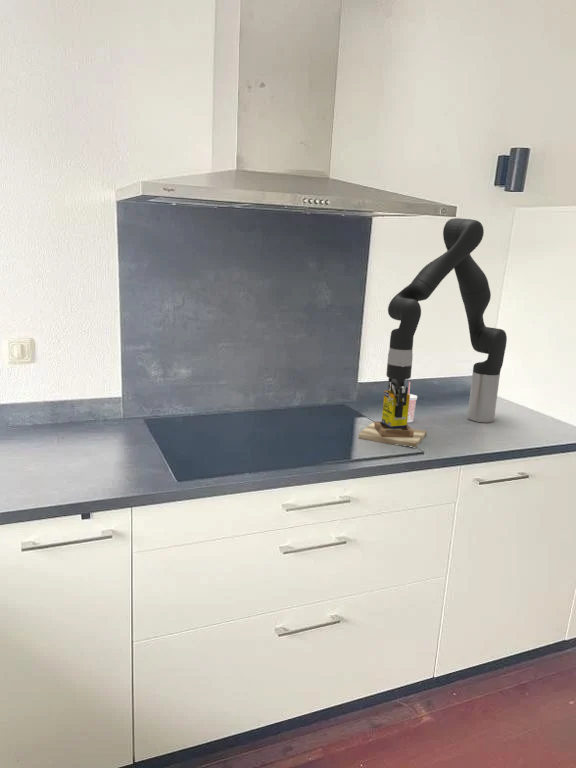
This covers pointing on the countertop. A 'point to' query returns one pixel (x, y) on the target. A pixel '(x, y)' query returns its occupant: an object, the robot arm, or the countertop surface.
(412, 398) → the beverage cup
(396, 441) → the socket board
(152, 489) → the countertop surface
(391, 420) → the supplement box
